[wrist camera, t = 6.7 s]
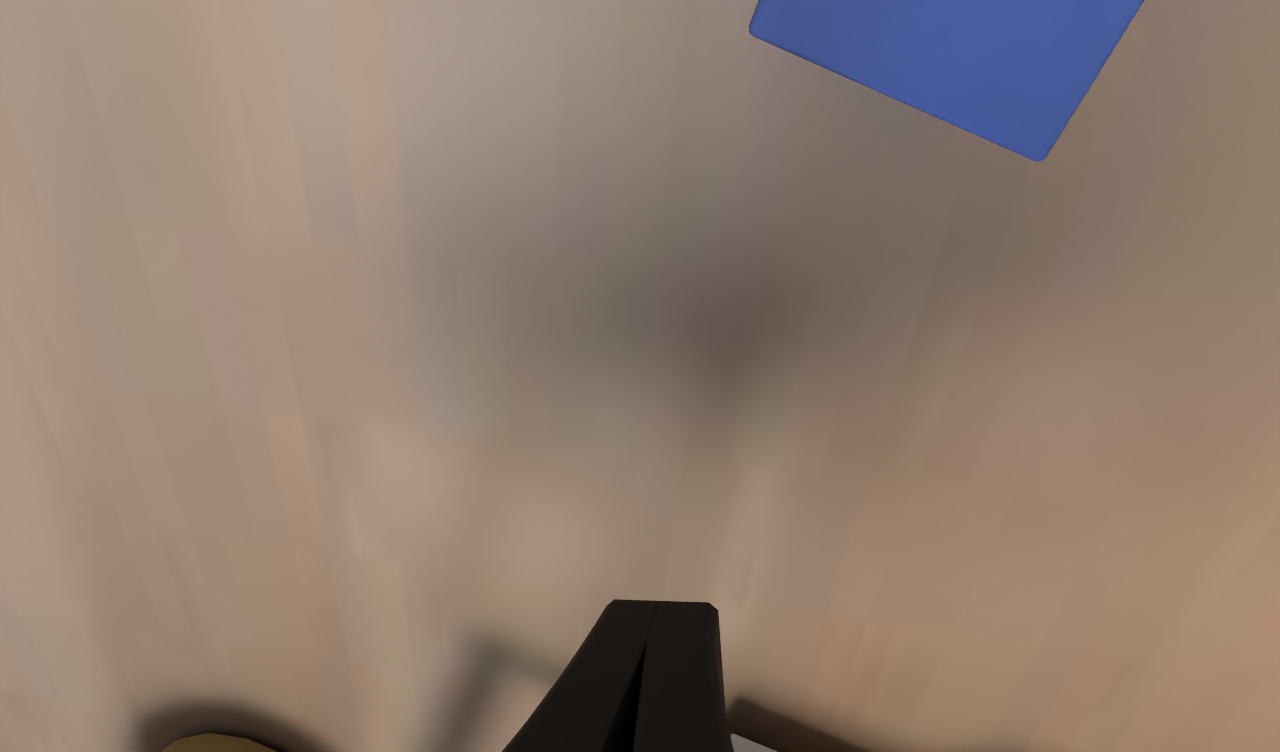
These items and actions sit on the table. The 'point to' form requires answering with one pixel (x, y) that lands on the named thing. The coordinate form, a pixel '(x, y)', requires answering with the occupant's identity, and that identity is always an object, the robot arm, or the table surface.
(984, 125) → the blue rounded cube
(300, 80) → the table surface
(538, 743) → the robot arm
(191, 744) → the squeeze bottle
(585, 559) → the table surface
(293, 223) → the table surface
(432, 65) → the table surface
